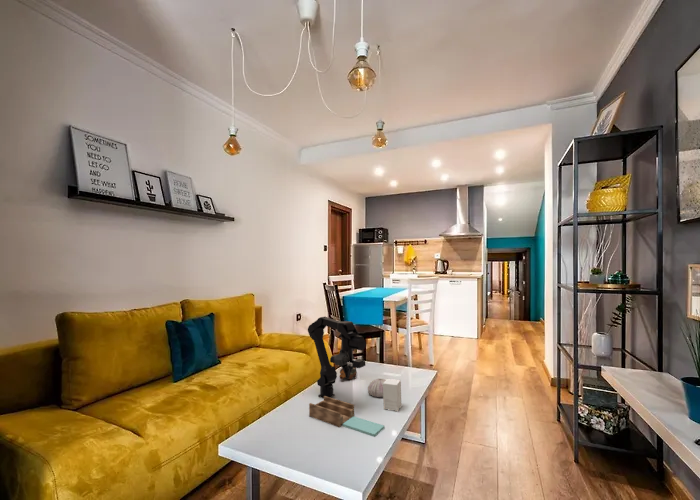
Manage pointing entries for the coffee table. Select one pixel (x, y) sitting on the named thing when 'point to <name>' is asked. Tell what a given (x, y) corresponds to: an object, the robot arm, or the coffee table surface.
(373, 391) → the sea urchin shell
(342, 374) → the decorative turtle
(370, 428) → the cover plate
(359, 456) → the coffee table surface
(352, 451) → the coffee table surface
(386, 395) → the supplement box
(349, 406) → the brown wooden box
